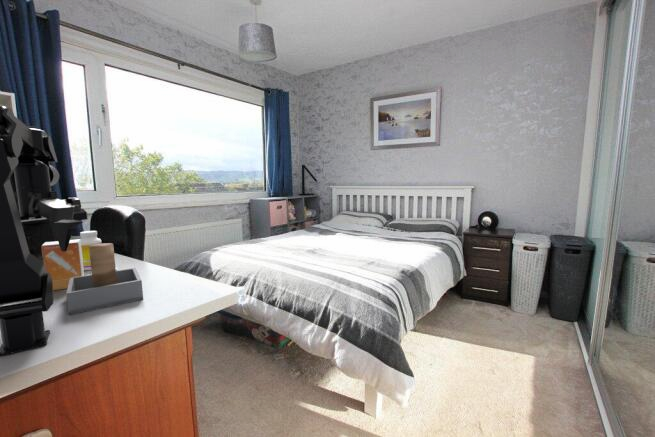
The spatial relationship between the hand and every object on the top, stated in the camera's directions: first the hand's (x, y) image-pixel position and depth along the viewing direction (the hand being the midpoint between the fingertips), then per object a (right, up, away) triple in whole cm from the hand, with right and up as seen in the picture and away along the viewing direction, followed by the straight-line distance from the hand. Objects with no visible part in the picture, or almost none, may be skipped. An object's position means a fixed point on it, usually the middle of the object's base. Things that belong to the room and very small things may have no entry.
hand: (43, 255), depth 72 cm
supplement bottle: (-17, -9, +37) cm, 42 cm away
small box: (-10, -11, +19) cm, 24 cm away
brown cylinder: (+8, -11, +9) cm, 16 cm away
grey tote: (+8, -12, +9) cm, 17 cm away
